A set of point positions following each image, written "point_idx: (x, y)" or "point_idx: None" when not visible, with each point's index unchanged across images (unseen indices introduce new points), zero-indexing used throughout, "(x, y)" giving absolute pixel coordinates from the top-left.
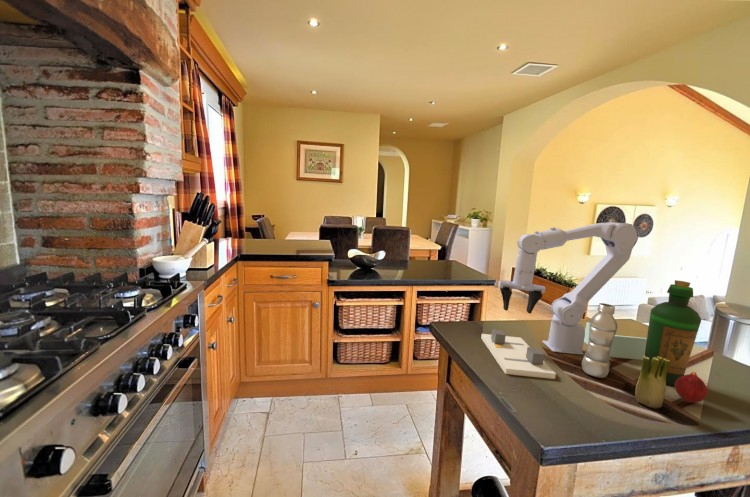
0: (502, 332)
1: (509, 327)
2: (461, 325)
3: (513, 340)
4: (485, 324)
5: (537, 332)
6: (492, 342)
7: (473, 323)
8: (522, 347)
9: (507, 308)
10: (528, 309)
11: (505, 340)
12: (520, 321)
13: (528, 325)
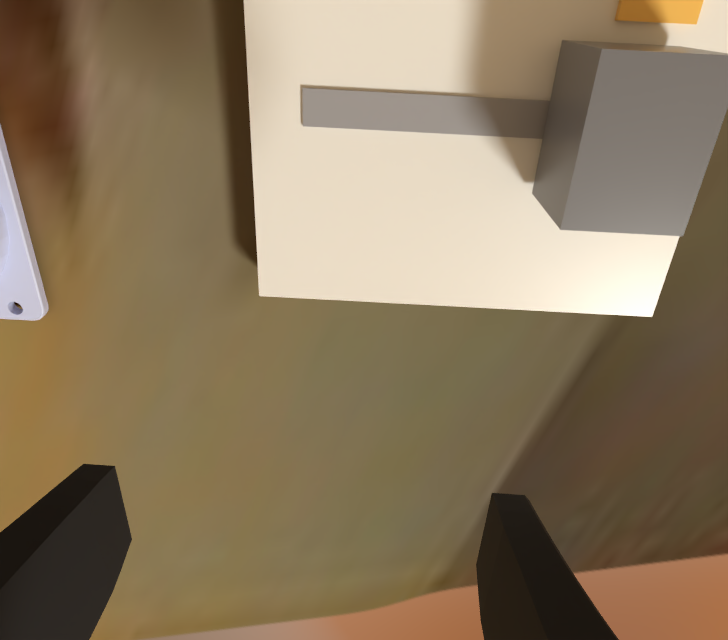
0: (594, 148)
1: (253, 534)
2: (663, 509)
3: (374, 205)
4: (435, 553)
5: (45, 487)
6: None
7: None
8: (349, 10)
9: (515, 520)
10: (98, 544)
11: (470, 188)
12: (128, 632)
13: None
